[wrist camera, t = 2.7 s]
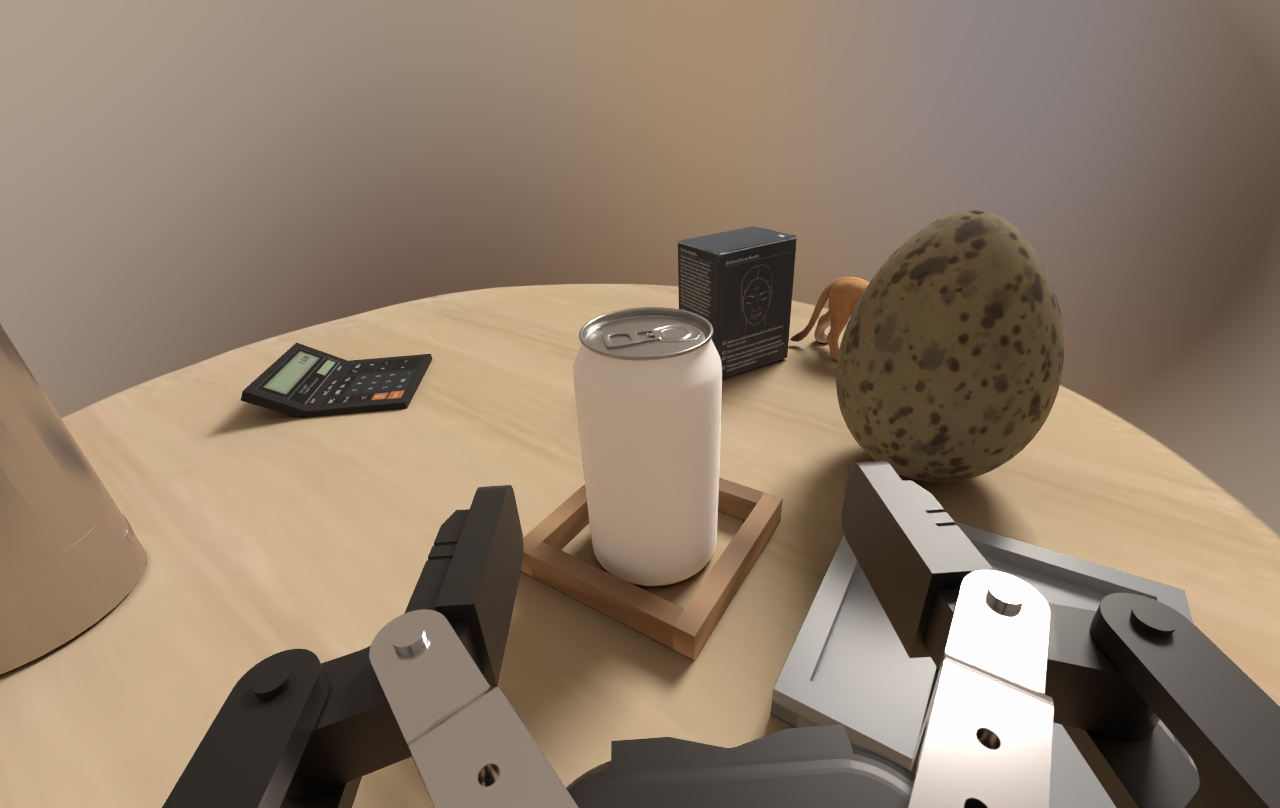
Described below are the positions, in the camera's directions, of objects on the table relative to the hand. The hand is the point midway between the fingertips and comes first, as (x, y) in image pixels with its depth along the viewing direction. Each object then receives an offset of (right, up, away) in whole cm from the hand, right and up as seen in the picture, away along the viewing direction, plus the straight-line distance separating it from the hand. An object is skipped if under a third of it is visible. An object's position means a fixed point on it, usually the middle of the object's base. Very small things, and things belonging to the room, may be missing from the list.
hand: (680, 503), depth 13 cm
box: (+7, +6, +35) cm, 37 cm away
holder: (0, -5, +16) cm, 16 cm away
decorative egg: (+16, -2, +21) cm, 26 cm away
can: (0, -5, +16) cm, 17 cm away
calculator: (-26, +3, +34) cm, 42 cm away
